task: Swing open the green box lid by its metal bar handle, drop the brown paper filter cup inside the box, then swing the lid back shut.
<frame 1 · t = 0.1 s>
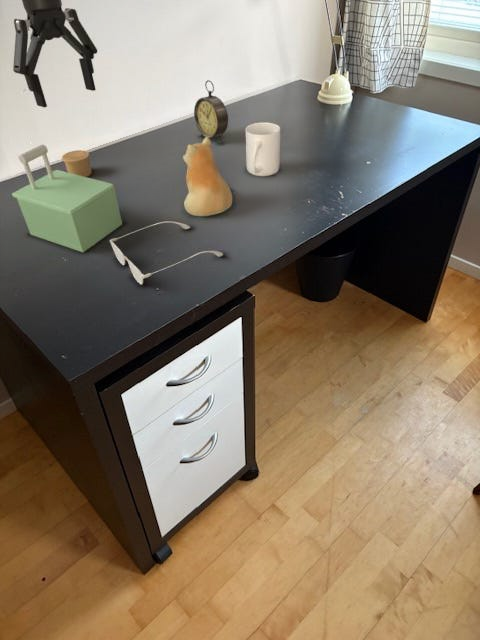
hand: (67, 97, 109), 21 cm above the table, tool pointing down, fingers open, 13 cm apart
alarm clock: (213, 139, 141), on the table
eyeglasses: (168, 256, 97), on the table
figurine: (209, 203, 113), on the table
green box lid: (58, 174, 97), point 13 cm above the table, hinge at 0.0°
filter: (80, 173, 127), on the table
green rectangular box: (76, 229, 106), on the table
mug: (261, 173, 124), on the table
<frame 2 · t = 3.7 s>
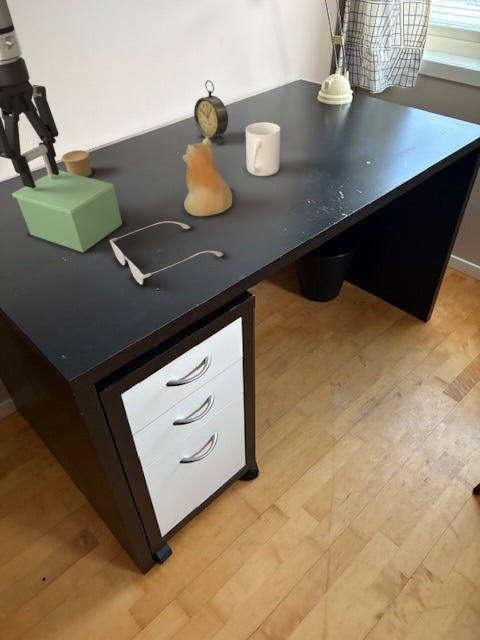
hand: (42, 179, 101), 10 cm above the table, tool pointing down, fingers closed on green box lid, 6 cm apart
green box lid: (58, 174, 97), point 13 cm above the table, hinge at 0.0°, touching gripper
everything else where it was.
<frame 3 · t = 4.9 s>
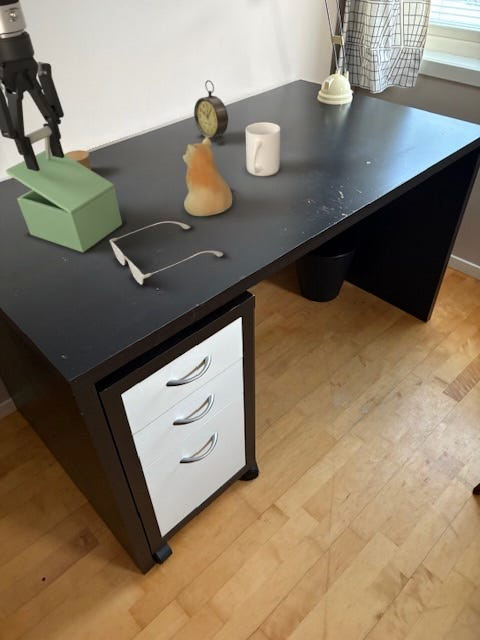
hand: (46, 162, 97), 15 cm above the table, tool pointing down, fingers closed on green box lid, 6 cm apart
green box lid: (60, 163, 95), point 15 cm above the table, hinge at 19.0°, touching gripper
everything else where it was.
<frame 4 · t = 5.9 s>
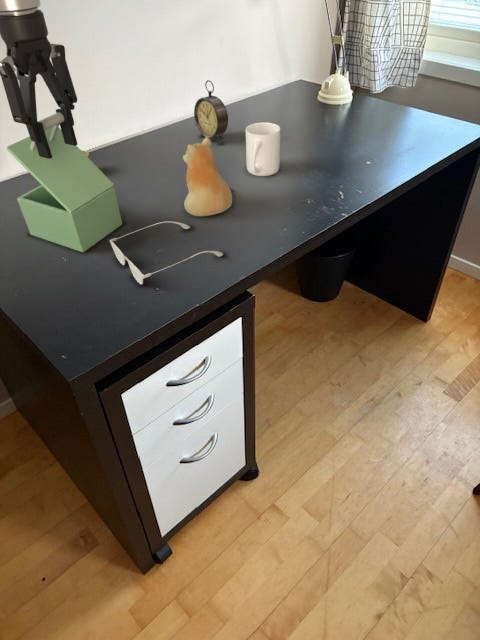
hand: (58, 150, 93), 18 cm above the table, tool pointing down, fingers closed on green box lid, 6 cm apart
green box lid: (67, 156, 92), point 17 cm above the table, hinge at 40.1°, touching gripper
everything else where it was.
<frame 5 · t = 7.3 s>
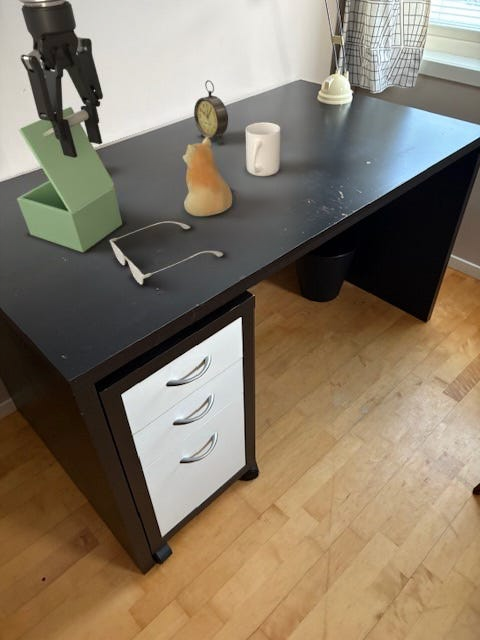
hand: (83, 148, 89), 20 cm above the table, tool pointing down, fingers closed on green box lid, 6 cm apart
green box lid: (81, 155, 90), point 18 cm above the table, hinge at 65.2°, touching gripper
everything else where it was.
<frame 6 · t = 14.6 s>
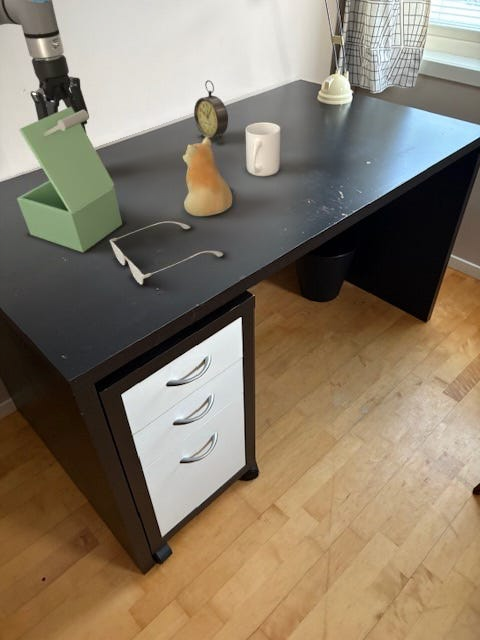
hand: (73, 154, 123), 5 cm above the table, tool pointing down, fingers closed on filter, 7 cm apart
green box lid: (81, 155, 90), point 18 cm above the table, hinge at 65.5°
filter: (74, 155, 124), point 5 cm above the table, touching gripper
everything else where it was.
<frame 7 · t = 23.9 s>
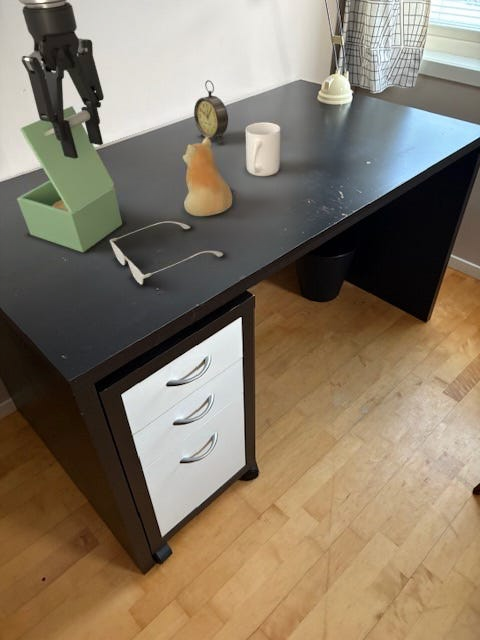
hand: (84, 149, 89), 20 cm above the table, tool pointing down, fingers closed on green box lid, 6 cm apart
green box lid: (81, 155, 90), point 18 cm above the table, hinge at 66.7°, touching gripper
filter: (74, 225, 105), point 1 cm above the table, touching green rectangular box
everything else where it was.
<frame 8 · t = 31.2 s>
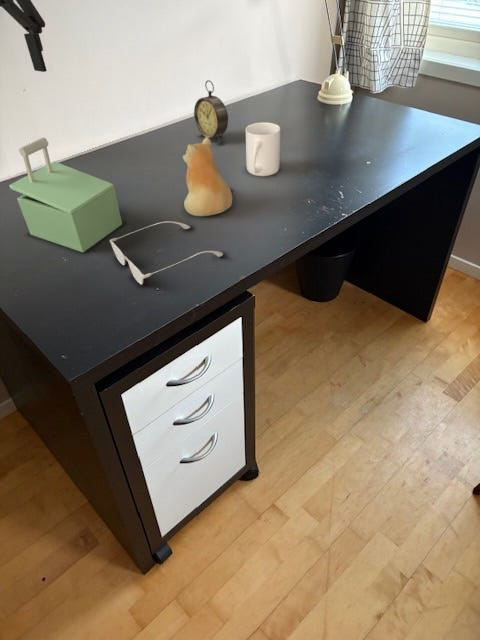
hand: (14, 80, 93), 29 cm above the table, tool pointing down, fingers open, 13 cm apart
green box lid: (58, 170, 96), point 14 cm above the table, hinge at 6.7°
everything else where it was.
at the end: green box lid reached +67° during the clip, +7° at the end; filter inside the target area in the green rectangular box (0.5 cm from its centre), point 0.8 cm above the green rectangular box's base; green box lid at +7° (first picture: +0°) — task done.
